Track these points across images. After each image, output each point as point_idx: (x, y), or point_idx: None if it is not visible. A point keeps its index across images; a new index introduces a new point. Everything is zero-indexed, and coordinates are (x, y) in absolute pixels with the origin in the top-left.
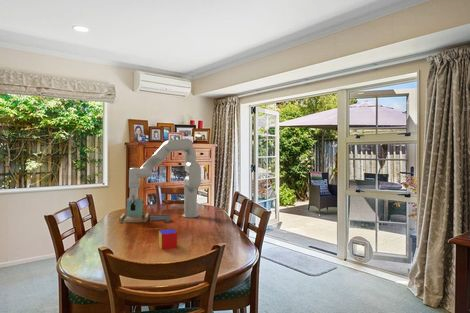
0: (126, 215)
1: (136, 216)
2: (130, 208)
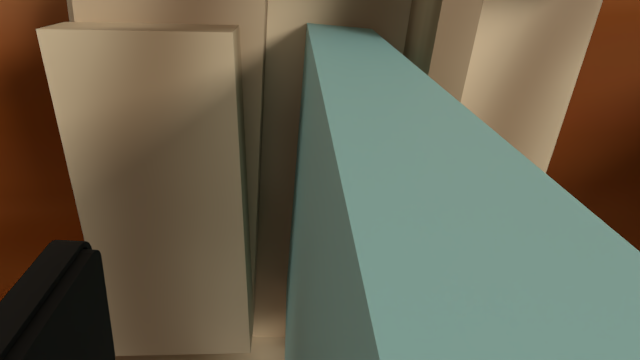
0: (437, 15)
1: (200, 262)
2: (307, 235)
